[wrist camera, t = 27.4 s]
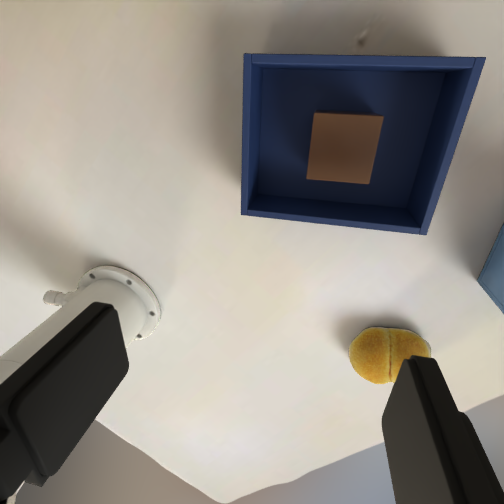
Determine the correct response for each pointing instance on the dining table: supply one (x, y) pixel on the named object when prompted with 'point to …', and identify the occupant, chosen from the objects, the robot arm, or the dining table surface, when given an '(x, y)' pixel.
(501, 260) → the upper bin
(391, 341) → the bread roll
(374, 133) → the block
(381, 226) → the lower bin
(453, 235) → the dining table surface
